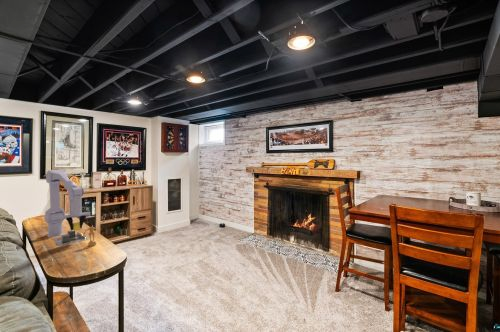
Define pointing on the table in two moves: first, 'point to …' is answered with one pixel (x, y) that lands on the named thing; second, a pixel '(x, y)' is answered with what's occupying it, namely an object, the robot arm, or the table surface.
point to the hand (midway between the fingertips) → (76, 228)
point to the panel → (71, 239)
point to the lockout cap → (76, 226)
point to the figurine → (92, 242)
